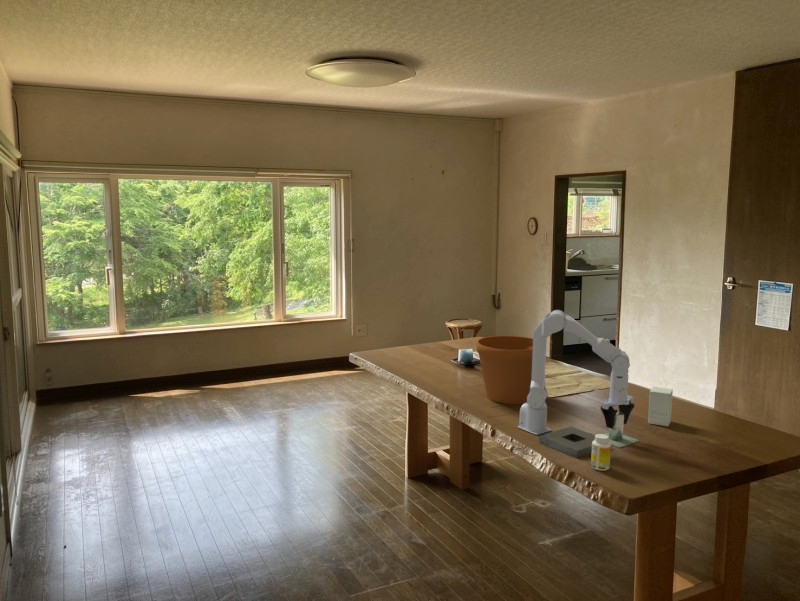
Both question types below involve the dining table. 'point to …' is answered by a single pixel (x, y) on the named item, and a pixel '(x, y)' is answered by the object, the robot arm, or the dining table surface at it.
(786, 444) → the dining table surface
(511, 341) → the flowerpot
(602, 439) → the supplement bottle
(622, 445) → the mat
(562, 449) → the socket block
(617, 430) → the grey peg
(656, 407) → the supplement box
